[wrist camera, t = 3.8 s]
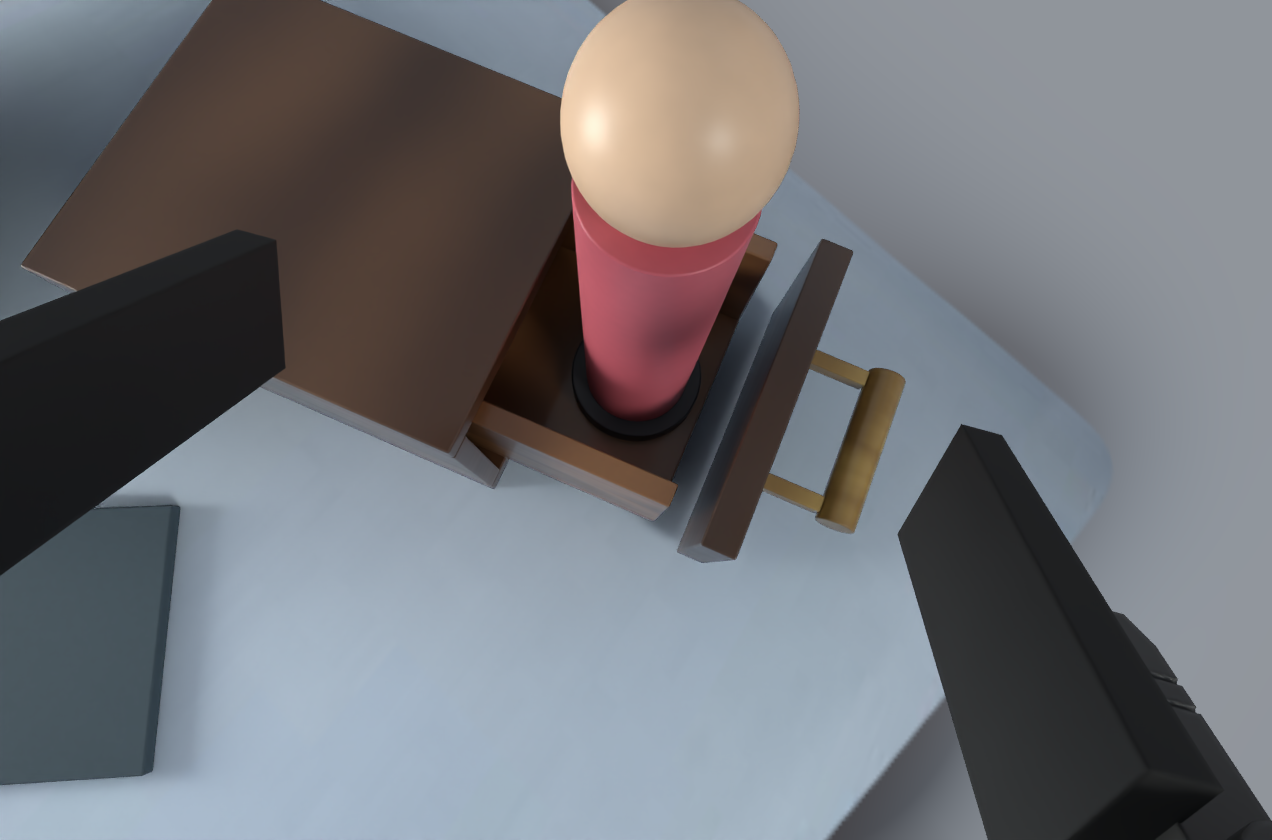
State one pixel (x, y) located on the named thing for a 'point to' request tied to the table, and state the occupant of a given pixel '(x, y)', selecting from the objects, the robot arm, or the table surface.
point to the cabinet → (342, 208)
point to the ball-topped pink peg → (667, 193)
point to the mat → (86, 648)
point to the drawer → (643, 470)
